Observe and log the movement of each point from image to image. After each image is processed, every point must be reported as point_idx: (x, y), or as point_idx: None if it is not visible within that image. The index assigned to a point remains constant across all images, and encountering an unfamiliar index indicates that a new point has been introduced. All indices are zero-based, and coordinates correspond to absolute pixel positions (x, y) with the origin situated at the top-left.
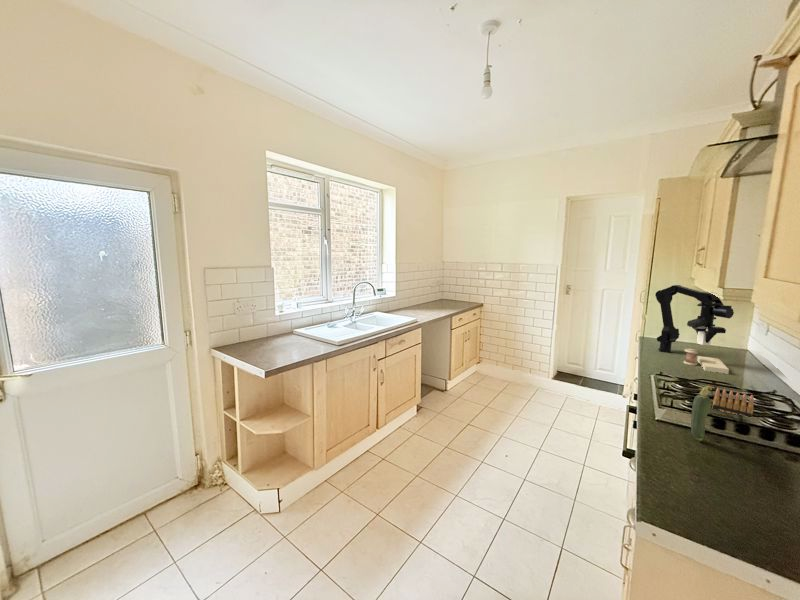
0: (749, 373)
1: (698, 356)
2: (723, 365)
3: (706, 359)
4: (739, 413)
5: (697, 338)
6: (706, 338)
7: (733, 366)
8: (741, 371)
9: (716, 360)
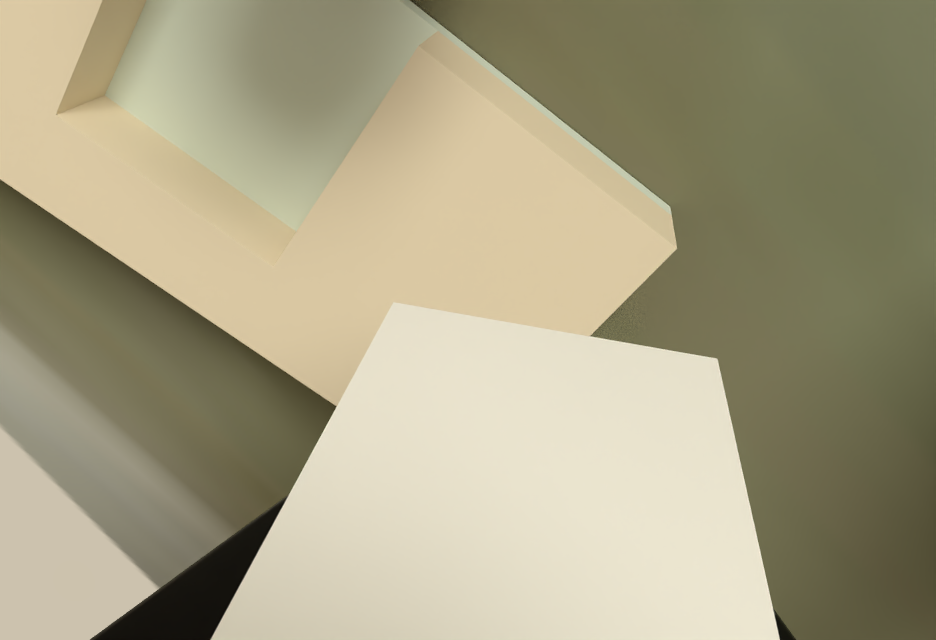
0: (2, 387)
1: (632, 225)
2: (14, 158)
3: (401, 193)
4: None
5: (735, 518)
6: (183, 599)
7: (297, 478)
8: (72, 367)
9: (333, 334)
